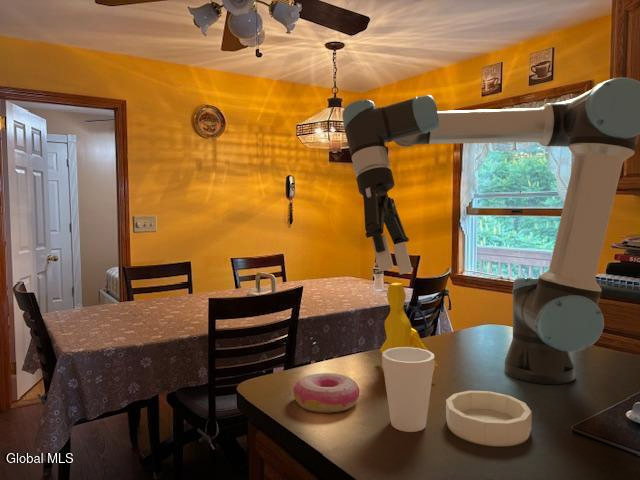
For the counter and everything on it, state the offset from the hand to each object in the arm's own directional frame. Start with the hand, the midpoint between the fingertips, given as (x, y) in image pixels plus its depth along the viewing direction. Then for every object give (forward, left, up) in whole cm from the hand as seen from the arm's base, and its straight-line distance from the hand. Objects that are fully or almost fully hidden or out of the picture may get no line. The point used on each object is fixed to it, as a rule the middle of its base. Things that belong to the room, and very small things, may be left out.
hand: (397, 271), depth 95 cm
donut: (+14, +1, -27) cm, 31 cm away
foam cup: (-2, +9, -27) cm, 29 cm away
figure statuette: (-2, -19, -27) cm, 33 cm away
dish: (-16, +9, -27) cm, 33 cm away
